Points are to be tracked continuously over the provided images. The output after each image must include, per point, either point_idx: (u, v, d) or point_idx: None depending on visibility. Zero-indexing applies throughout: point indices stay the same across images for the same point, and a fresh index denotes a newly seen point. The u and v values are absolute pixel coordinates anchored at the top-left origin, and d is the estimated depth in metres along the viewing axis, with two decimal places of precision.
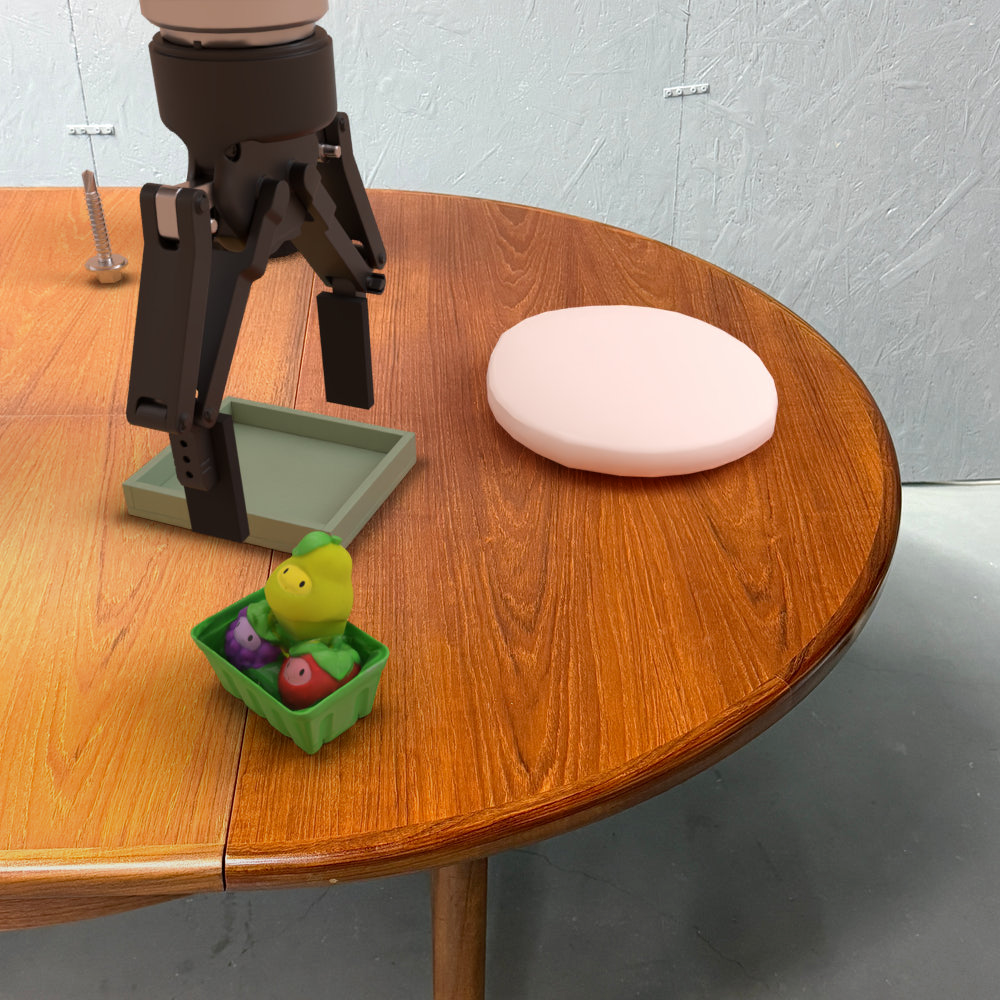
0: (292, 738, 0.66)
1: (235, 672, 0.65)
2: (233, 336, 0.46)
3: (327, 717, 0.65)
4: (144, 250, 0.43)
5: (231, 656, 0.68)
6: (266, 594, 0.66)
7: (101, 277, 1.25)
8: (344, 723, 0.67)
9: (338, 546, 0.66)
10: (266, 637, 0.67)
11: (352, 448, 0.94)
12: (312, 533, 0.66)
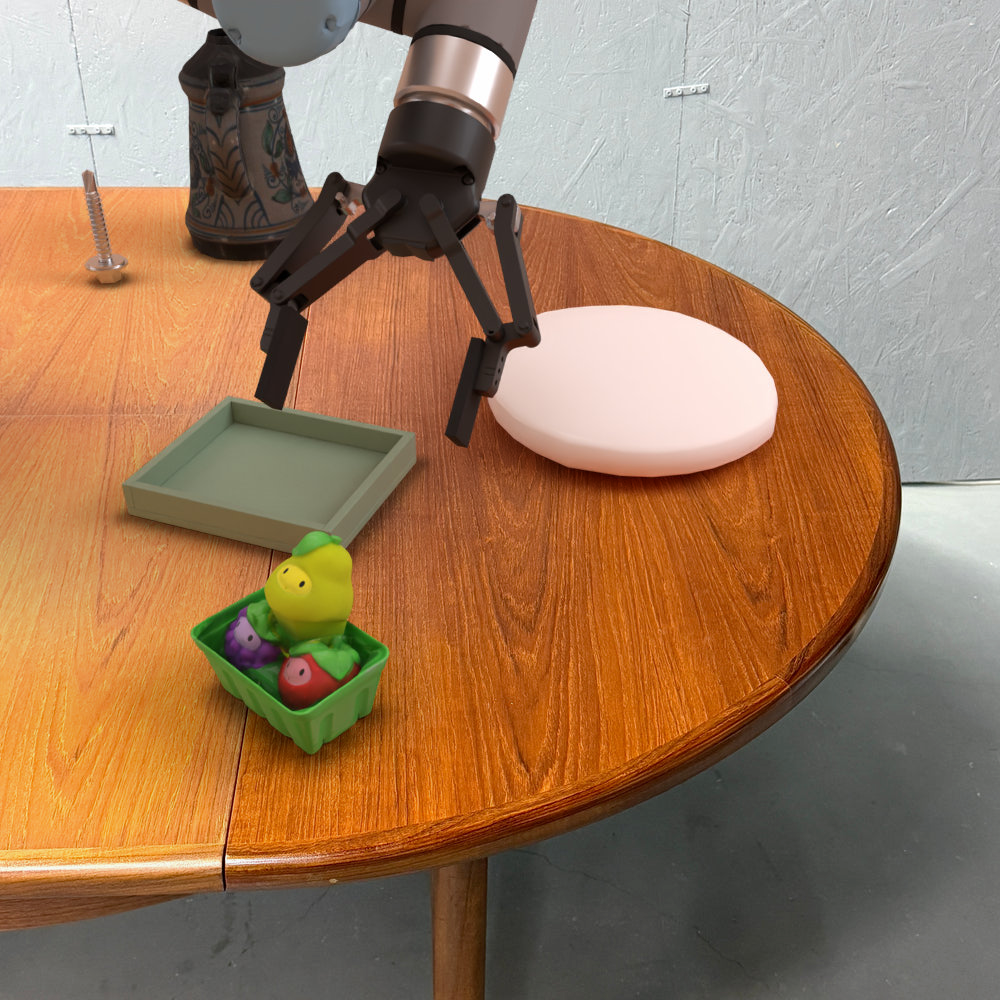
0: (292, 738, 0.66)
1: (235, 672, 0.65)
2: None
3: (327, 717, 0.65)
4: (512, 230, 0.69)
5: (231, 656, 0.68)
6: (266, 594, 0.66)
7: (101, 277, 1.25)
8: (344, 723, 0.67)
9: (338, 546, 0.66)
10: (266, 637, 0.67)
11: (352, 448, 0.94)
12: (312, 533, 0.66)
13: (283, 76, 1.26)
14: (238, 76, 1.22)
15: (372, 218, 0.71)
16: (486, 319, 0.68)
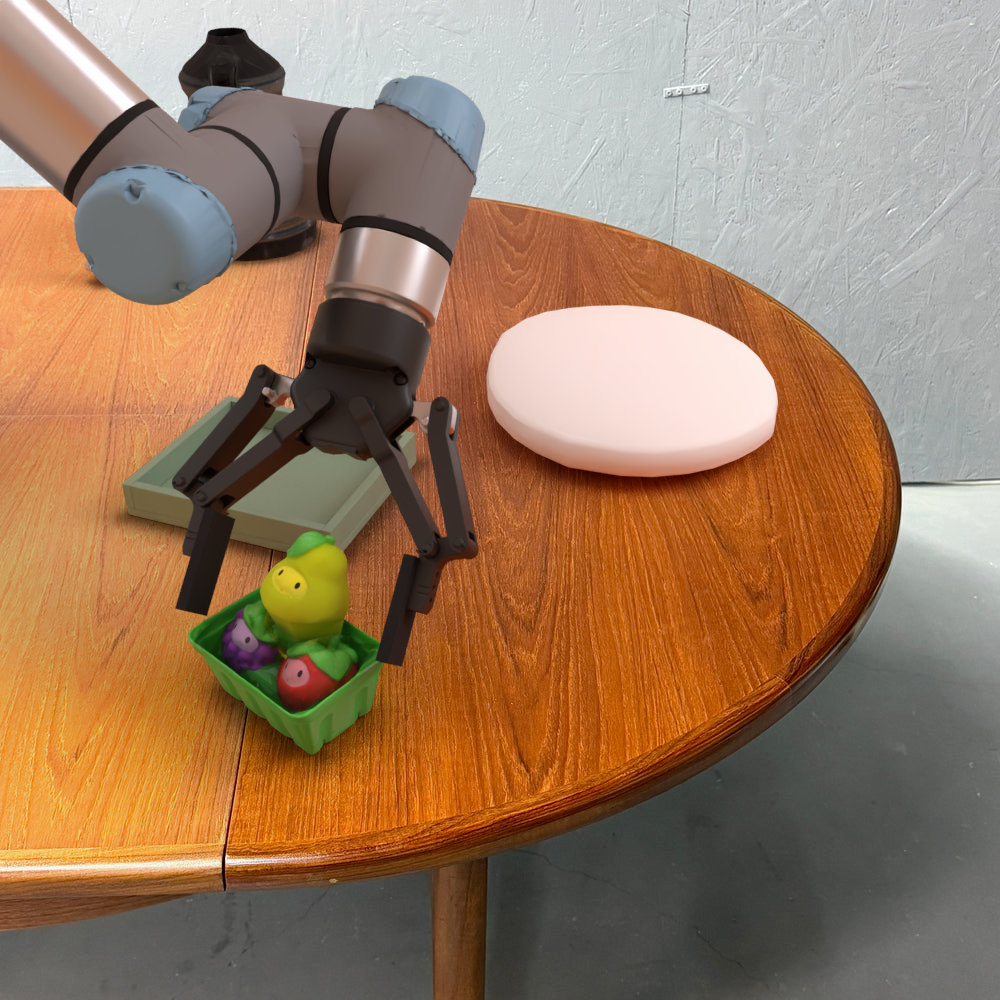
0: None
1: (233, 675, 0.65)
2: None
3: (326, 718, 0.65)
4: (446, 437, 0.65)
5: (229, 659, 0.68)
6: (262, 596, 0.65)
7: None
8: (344, 723, 0.67)
9: (332, 546, 0.66)
10: (263, 638, 0.67)
11: None
12: (306, 534, 0.66)
13: (283, 76, 1.26)
14: (238, 76, 1.22)
15: (300, 419, 0.67)
16: (419, 534, 0.64)
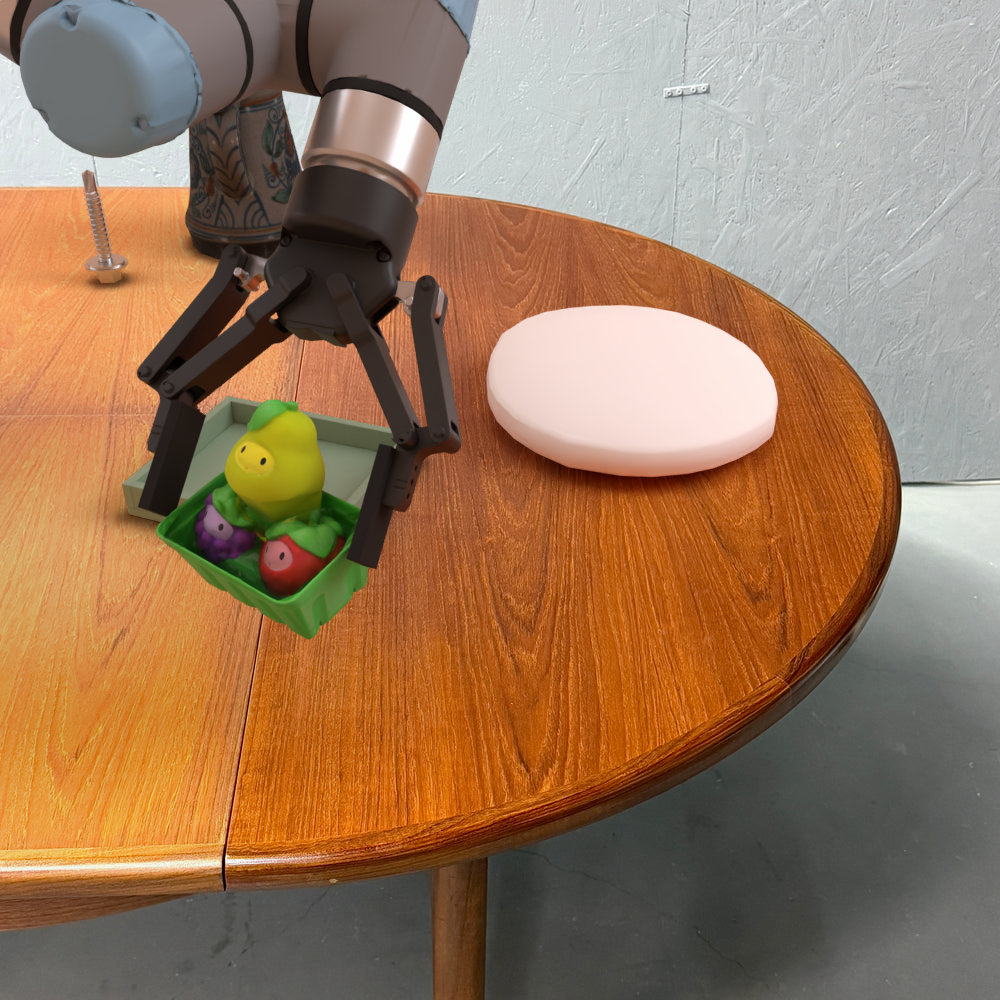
0: None
1: (210, 567, 0.59)
2: None
3: (318, 599, 0.59)
4: (431, 319, 0.60)
5: (205, 549, 0.62)
6: (227, 478, 0.59)
7: (101, 277, 1.25)
8: (339, 601, 0.61)
9: (296, 412, 0.59)
10: (237, 523, 0.61)
11: (352, 448, 0.94)
12: (264, 403, 0.59)
13: None
14: None
15: (274, 299, 0.61)
16: (397, 423, 0.59)
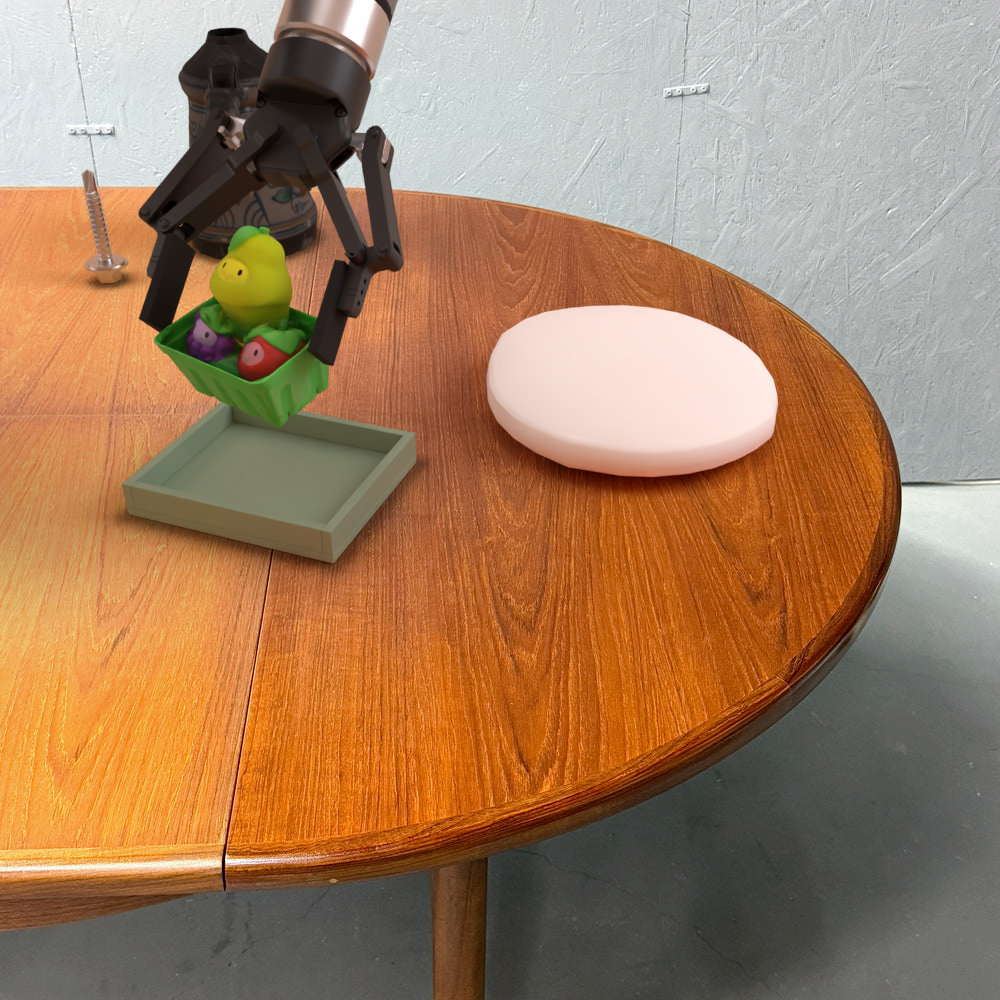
0: (261, 416, 0.75)
1: (198, 363, 0.73)
2: None
3: (285, 389, 0.72)
4: (378, 160, 0.73)
5: (194, 356, 0.75)
6: (211, 289, 0.72)
7: (101, 277, 1.25)
8: (304, 396, 0.75)
9: (267, 236, 0.72)
10: (220, 331, 0.74)
11: (352, 448, 0.94)
12: (241, 227, 0.72)
13: None
14: (238, 76, 1.22)
15: (251, 149, 0.75)
16: (349, 243, 0.72)
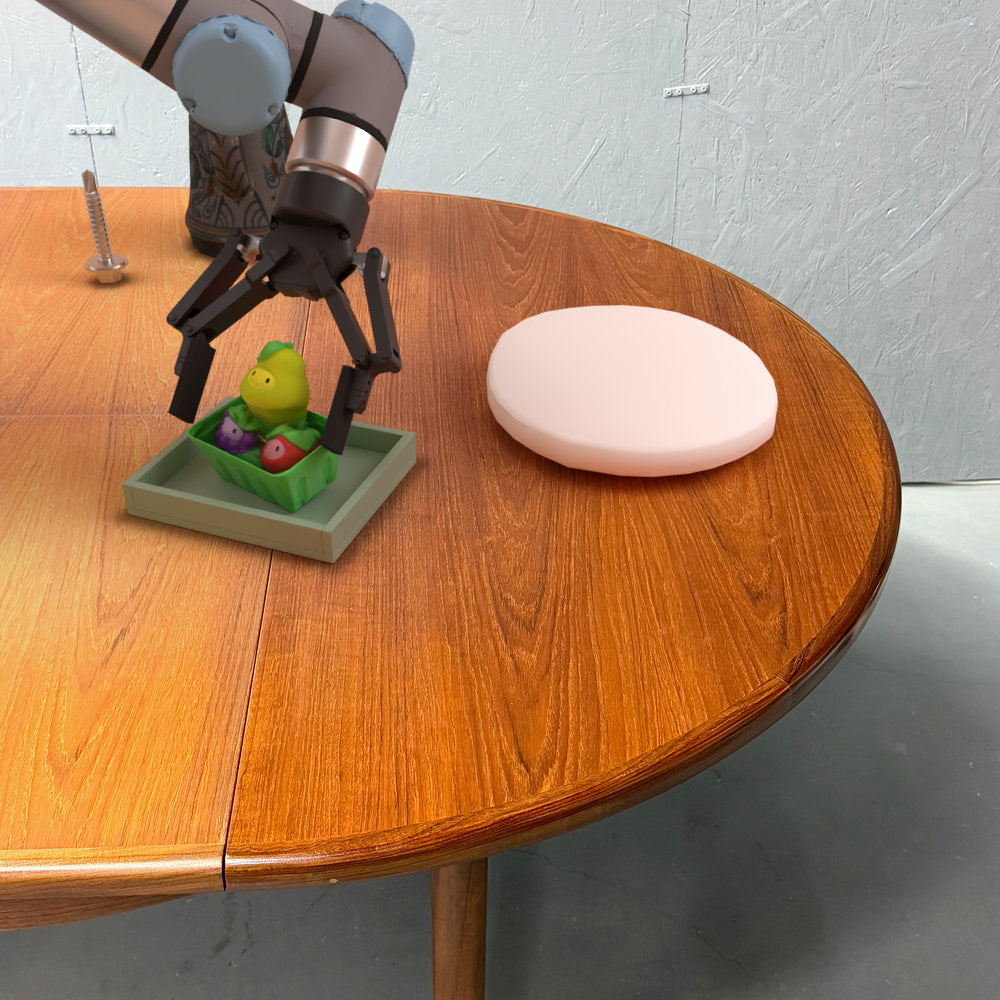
0: (278, 502, 0.86)
1: (226, 455, 0.84)
2: None
3: (301, 480, 0.84)
4: (377, 277, 0.84)
5: (222, 448, 0.87)
6: (241, 393, 0.84)
7: (101, 277, 1.25)
8: (316, 487, 0.86)
9: (292, 350, 0.85)
10: (246, 428, 0.86)
11: (352, 448, 0.94)
12: (270, 342, 0.85)
13: None
14: None
15: (265, 266, 0.86)
16: (355, 350, 0.83)
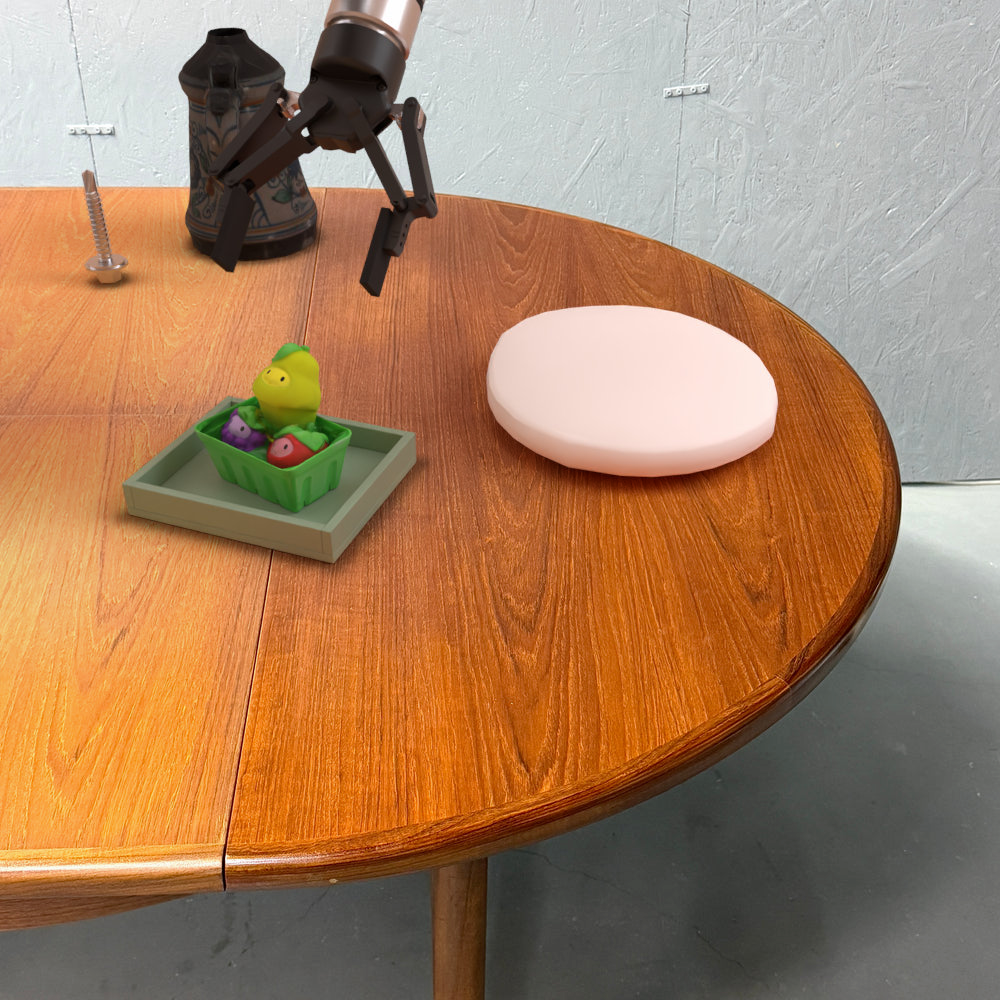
0: (279, 502, 0.86)
1: (233, 450, 0.85)
2: None
3: (307, 480, 0.85)
4: (415, 125, 0.87)
5: None
6: (254, 390, 0.85)
7: (101, 277, 1.25)
8: (319, 490, 0.87)
9: (307, 352, 0.86)
10: (255, 427, 0.87)
11: (352, 448, 0.94)
12: (287, 343, 0.86)
13: (283, 76, 1.26)
14: (238, 76, 1.22)
15: (305, 117, 0.89)
16: (393, 193, 0.86)
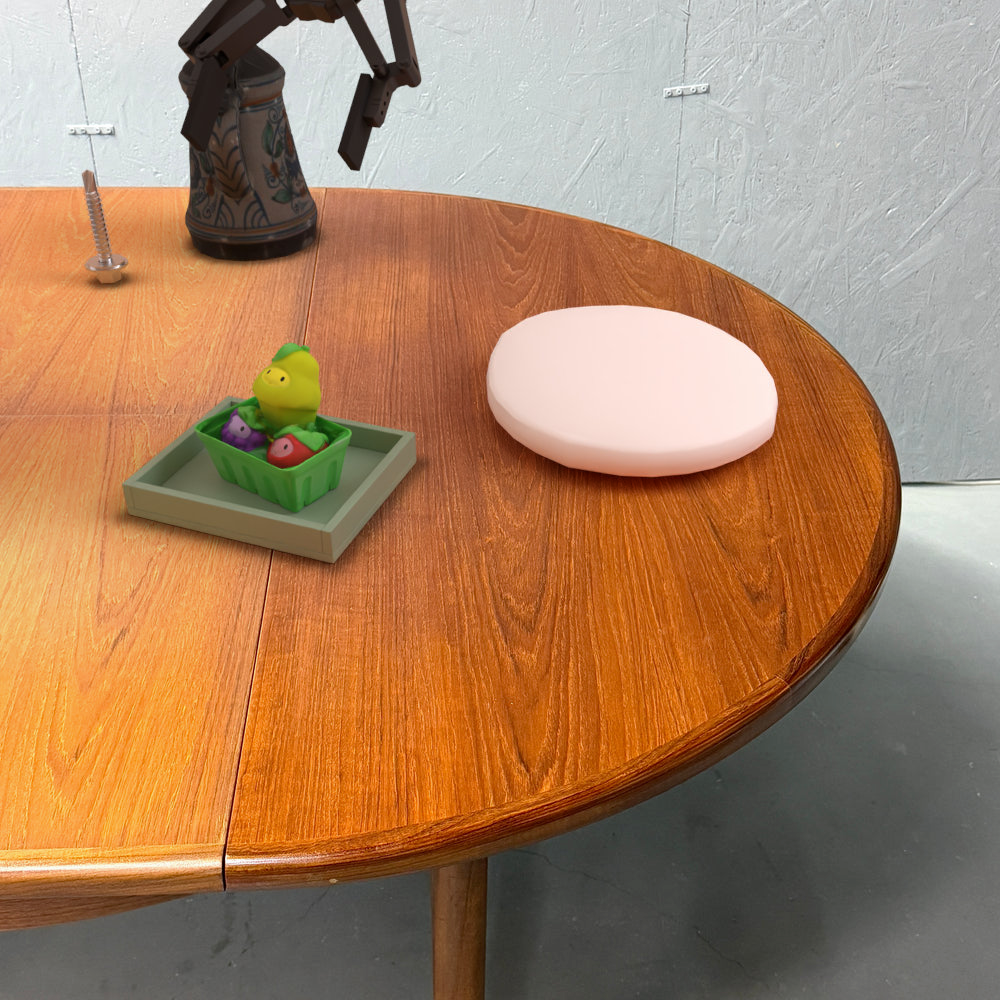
0: (279, 502, 0.86)
1: (233, 450, 0.85)
2: None
3: (307, 480, 0.85)
4: None
5: None
6: (254, 390, 0.85)
7: (101, 277, 1.25)
8: (319, 490, 0.87)
9: (307, 352, 0.86)
10: (255, 427, 0.87)
11: (352, 448, 0.94)
12: (287, 343, 0.86)
13: (283, 76, 1.26)
14: (238, 76, 1.22)
15: None
16: (373, 59, 0.81)
